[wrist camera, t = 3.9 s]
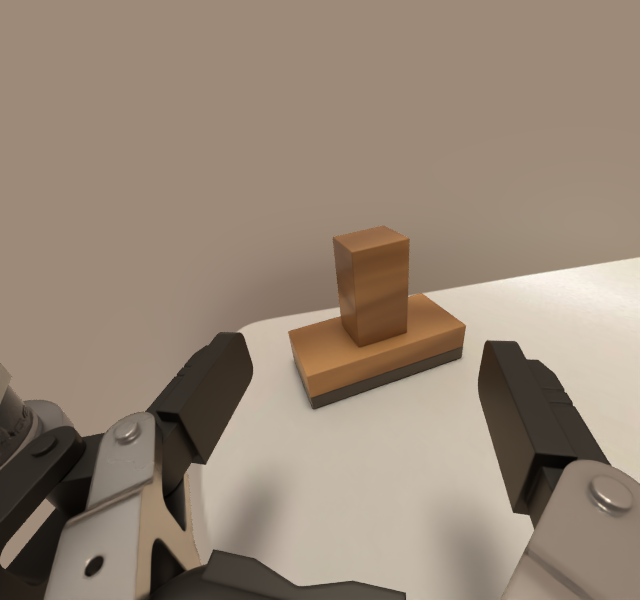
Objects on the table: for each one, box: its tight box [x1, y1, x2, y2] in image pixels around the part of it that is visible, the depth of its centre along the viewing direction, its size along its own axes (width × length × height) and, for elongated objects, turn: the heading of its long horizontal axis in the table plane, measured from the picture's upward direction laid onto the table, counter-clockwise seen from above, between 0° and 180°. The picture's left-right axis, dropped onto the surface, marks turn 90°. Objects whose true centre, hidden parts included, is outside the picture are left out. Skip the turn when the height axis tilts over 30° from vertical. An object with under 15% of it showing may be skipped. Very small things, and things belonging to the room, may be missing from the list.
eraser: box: [288, 226, 466, 409], centre depth 20 cm, size 5×11×9 cm, turn 108°
